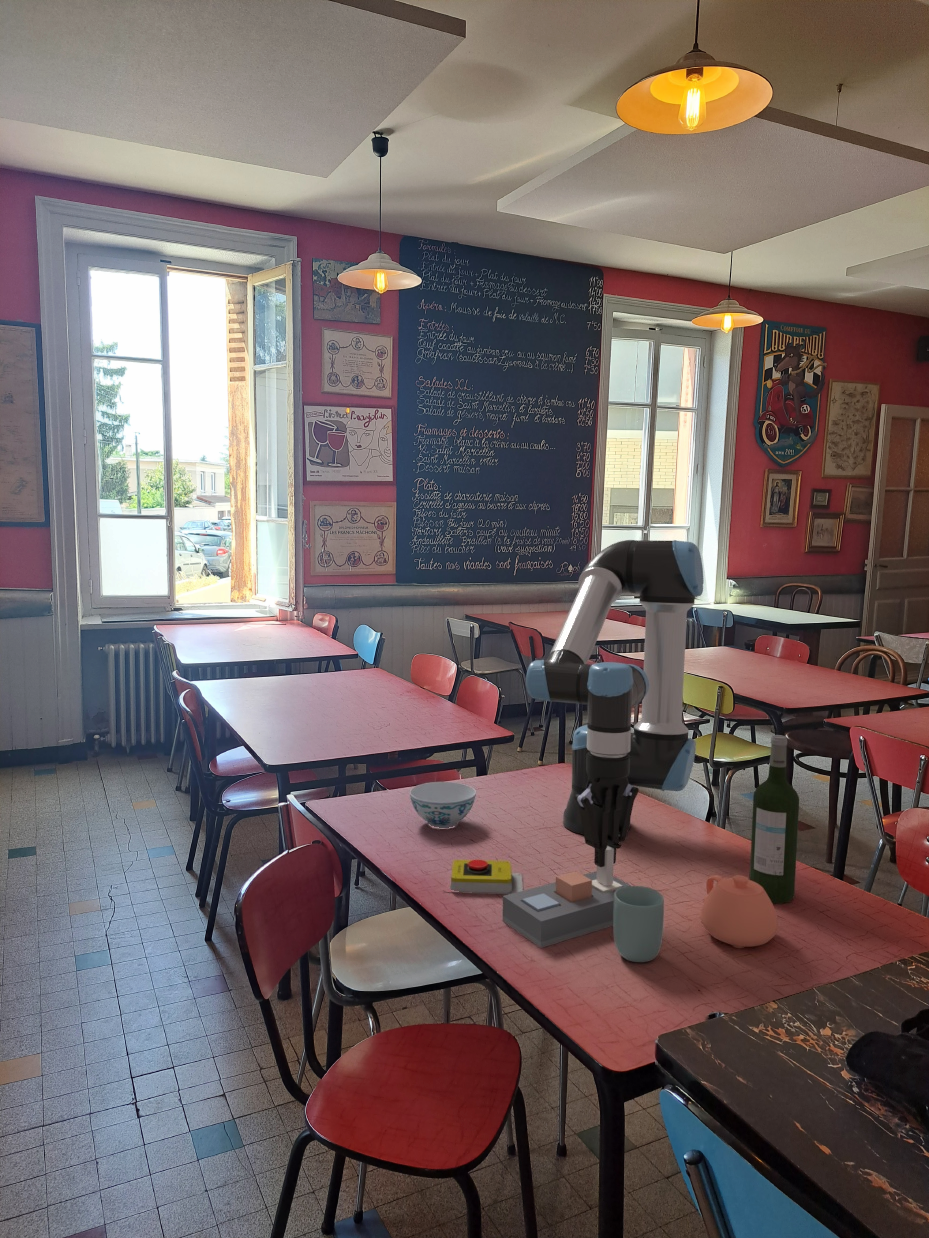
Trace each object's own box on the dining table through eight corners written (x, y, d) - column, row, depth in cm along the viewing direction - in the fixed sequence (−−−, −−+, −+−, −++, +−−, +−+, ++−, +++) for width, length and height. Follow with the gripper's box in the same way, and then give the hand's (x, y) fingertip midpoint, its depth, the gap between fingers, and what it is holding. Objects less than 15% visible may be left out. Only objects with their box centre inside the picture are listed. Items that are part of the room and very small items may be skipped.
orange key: (575, 890, 151) (575, 871, 151) (591, 899, 148) (592, 880, 147) (555, 895, 149) (555, 876, 149) (571, 905, 145) (571, 885, 145)
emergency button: (445, 853, 168) (522, 854, 167) (445, 874, 168) (521, 876, 168) (442, 872, 159) (523, 874, 158) (442, 894, 159) (523, 896, 159)
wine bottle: (793, 889, 162) (801, 733, 158) (794, 906, 154) (803, 743, 151) (749, 883, 164) (756, 729, 161) (748, 900, 157) (756, 739, 154)
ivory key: (605, 895, 155) (605, 876, 155) (621, 904, 152) (622, 885, 151) (586, 900, 153) (586, 881, 153) (602, 910, 149) (603, 890, 149)
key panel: (600, 893, 159) (601, 869, 159) (642, 916, 150) (643, 891, 149) (502, 920, 148) (502, 895, 147) (540, 947, 138) (541, 921, 138)
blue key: (543, 912, 148) (543, 893, 148) (558, 922, 144) (559, 903, 144) (522, 918, 146) (522, 898, 145) (537, 929, 142) (538, 908, 142)
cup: (606, 944, 140) (608, 886, 139) (653, 943, 140) (655, 884, 139) (619, 969, 132) (621, 907, 131) (668, 967, 133) (671, 905, 132)
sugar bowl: (738, 961, 135) (741, 898, 134) (677, 924, 147) (679, 866, 146) (793, 944, 141) (796, 884, 140) (730, 909, 153) (733, 854, 152)
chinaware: (487, 821, 197) (488, 788, 196) (452, 841, 185) (452, 806, 184) (434, 809, 205) (434, 777, 204) (396, 827, 193) (396, 794, 192)
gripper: (622, 742, 156) (618, 867, 158) (565, 752, 149) (562, 882, 152) (651, 752, 150) (646, 882, 152) (593, 762, 143) (589, 898, 145)
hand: (604, 882), depth 152 cm, fingers closed
